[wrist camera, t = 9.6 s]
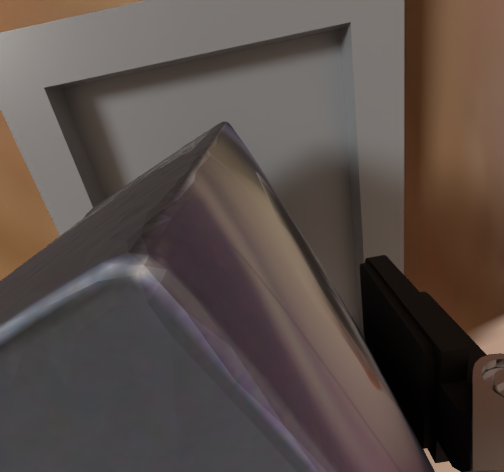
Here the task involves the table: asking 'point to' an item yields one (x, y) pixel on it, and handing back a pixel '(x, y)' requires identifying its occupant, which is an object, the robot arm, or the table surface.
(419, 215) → the table surface
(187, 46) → the tray
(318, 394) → the small box
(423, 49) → the table surface
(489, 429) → the robot arm
